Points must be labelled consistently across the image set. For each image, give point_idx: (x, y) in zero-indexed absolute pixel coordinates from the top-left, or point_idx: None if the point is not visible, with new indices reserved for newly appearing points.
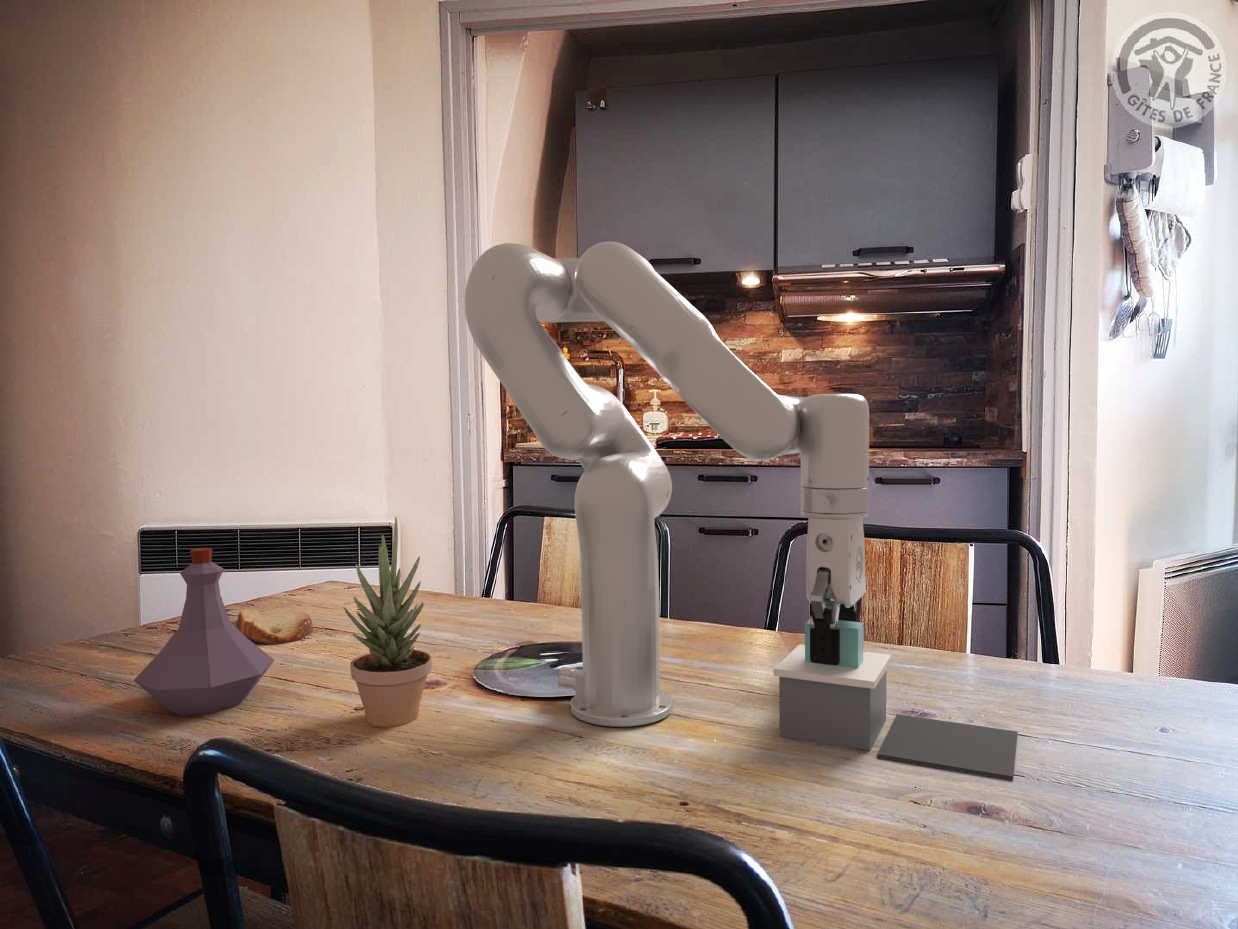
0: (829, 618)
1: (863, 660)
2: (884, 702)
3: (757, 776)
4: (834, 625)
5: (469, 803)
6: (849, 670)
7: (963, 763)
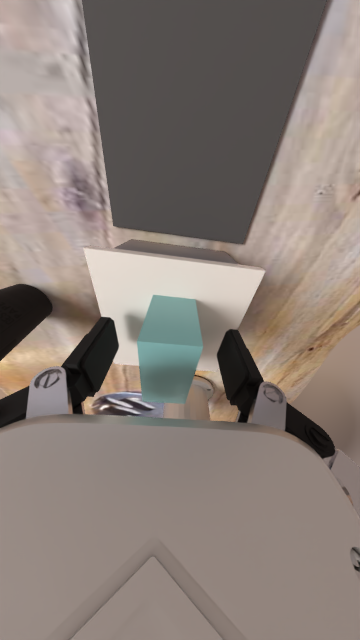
0: (289, 418)
1: (148, 294)
2: (136, 245)
3: (277, 325)
4: (284, 396)
5: (294, 399)
6: (208, 309)
7: (274, 101)
